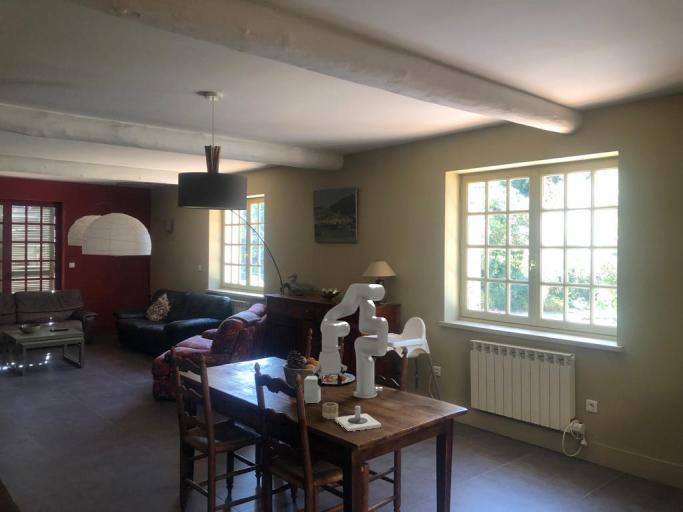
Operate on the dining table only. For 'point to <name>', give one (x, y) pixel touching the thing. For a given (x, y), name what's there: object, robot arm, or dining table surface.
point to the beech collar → (330, 410)
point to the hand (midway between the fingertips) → (329, 385)
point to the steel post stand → (358, 421)
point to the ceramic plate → (333, 378)
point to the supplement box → (312, 390)
